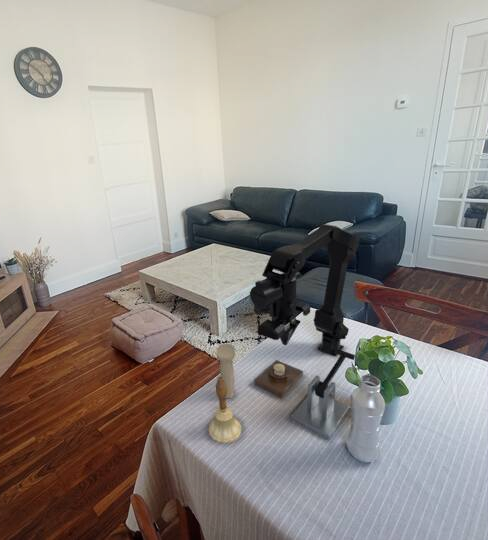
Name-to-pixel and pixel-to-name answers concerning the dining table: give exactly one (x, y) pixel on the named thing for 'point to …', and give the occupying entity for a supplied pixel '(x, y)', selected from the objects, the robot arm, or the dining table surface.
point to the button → (279, 369)
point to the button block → (279, 379)
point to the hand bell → (224, 418)
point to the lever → (332, 372)
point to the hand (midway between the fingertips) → (284, 344)
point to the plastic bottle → (366, 419)
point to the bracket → (320, 410)
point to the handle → (227, 366)
